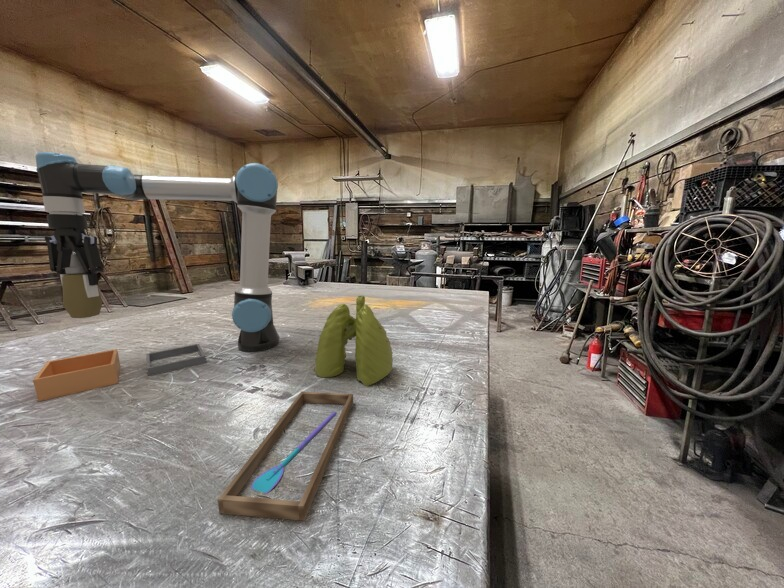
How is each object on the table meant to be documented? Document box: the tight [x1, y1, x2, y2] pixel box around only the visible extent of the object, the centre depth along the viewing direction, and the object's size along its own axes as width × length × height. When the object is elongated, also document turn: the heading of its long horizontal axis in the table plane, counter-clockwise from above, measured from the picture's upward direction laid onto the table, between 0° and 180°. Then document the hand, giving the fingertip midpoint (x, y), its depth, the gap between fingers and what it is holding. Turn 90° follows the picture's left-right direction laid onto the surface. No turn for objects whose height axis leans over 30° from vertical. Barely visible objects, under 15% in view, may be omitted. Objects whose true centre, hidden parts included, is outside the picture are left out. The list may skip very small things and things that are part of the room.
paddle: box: [250, 411, 337, 494], centre depth 62 cm, size 25×4×1 cm, turn 161°
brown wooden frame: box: [217, 391, 354, 521], centre depth 62 cm, size 14×33×2 cm, turn 174°
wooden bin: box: [32, 348, 121, 402], centre depth 89 cm, size 16×16×6 cm
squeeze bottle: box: [61, 253, 103, 319], centre depth 87 cm, size 8×8×18 cm
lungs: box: [314, 295, 394, 387], centre depth 93 cm, size 25×16×24 cm, turn 68°
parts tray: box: [145, 343, 207, 377], centre depth 104 cm, size 16×16×2 cm
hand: (81, 296), depth 87 cm, fingers closed on squeeze bottle, 6 cm apart
